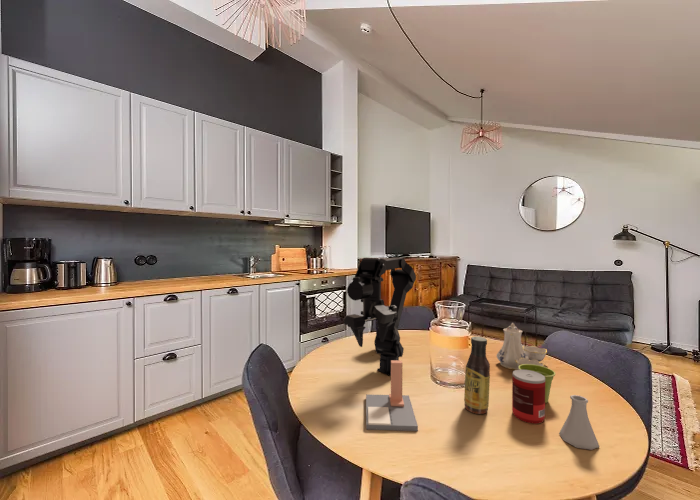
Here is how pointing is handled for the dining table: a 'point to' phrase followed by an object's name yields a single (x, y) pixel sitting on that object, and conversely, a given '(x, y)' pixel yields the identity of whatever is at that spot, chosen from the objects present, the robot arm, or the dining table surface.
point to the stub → (396, 384)
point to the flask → (579, 426)
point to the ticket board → (389, 414)
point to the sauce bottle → (477, 378)
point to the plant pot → (544, 371)
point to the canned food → (528, 396)
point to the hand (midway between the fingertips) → (371, 344)
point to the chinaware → (518, 351)
